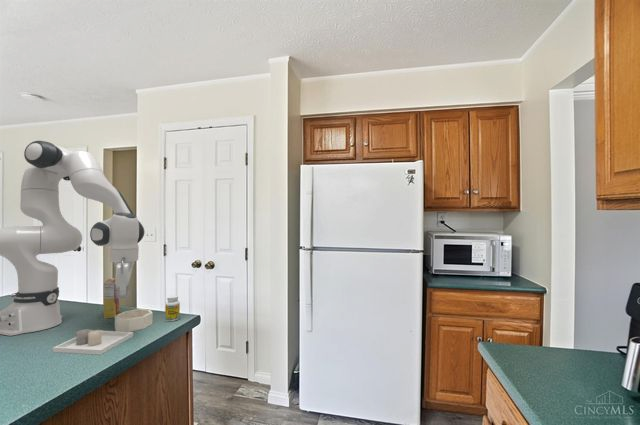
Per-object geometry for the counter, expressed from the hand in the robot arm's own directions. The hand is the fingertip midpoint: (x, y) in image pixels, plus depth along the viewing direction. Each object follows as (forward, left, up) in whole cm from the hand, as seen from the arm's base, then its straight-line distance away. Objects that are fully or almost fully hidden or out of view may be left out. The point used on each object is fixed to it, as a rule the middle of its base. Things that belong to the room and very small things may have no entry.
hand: (123, 293), depth 108 cm
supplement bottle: (+10, +15, -15) cm, 23 cm away
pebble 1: (-5, -11, -14) cm, 19 cm away
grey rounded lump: (0, 0, -1) cm, 1 cm away
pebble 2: (-1, -12, -14) cm, 18 cm away
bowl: (0, +5, -15) cm, 15 cm away
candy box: (-19, +17, -15) cm, 29 cm away
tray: (-1, -11, -15) cm, 18 cm away
